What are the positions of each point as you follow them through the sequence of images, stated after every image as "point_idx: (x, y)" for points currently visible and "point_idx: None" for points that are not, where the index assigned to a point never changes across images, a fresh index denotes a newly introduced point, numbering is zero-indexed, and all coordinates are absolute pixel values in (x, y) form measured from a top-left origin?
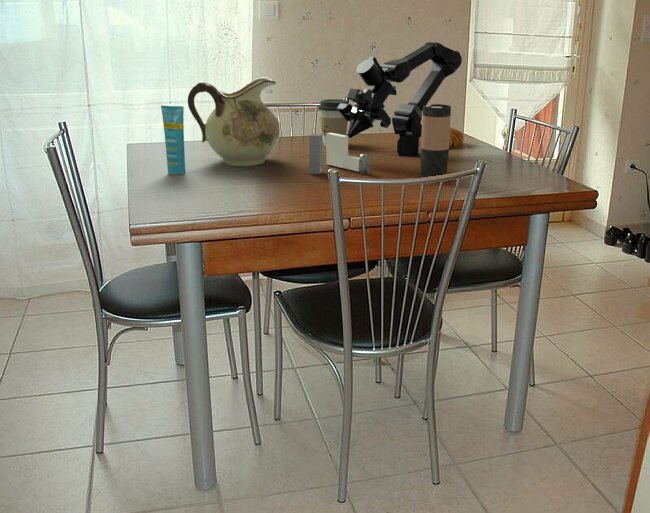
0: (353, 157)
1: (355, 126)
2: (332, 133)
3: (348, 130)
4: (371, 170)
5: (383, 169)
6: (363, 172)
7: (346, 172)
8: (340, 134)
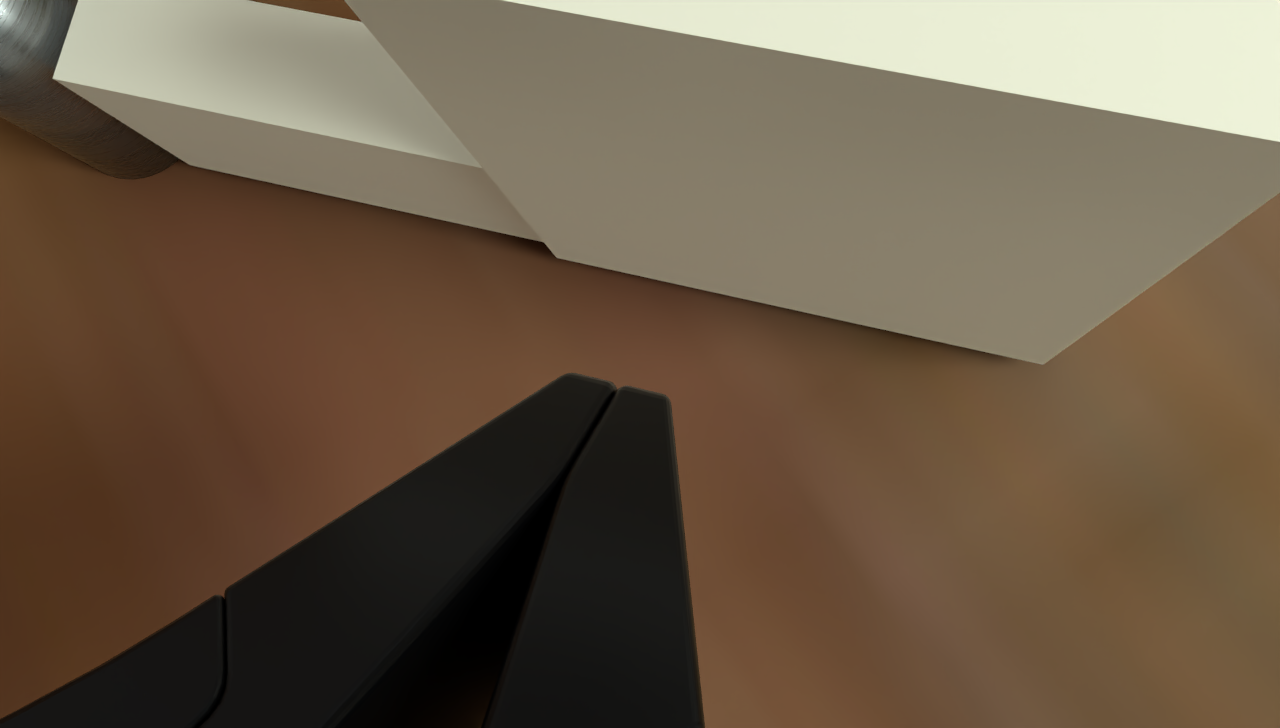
0: (262, 47)
1: (226, 595)
2: (1151, 15)
3: (662, 518)
4: (147, 388)
5: (10, 581)
6: None
7: None
8: (736, 36)
